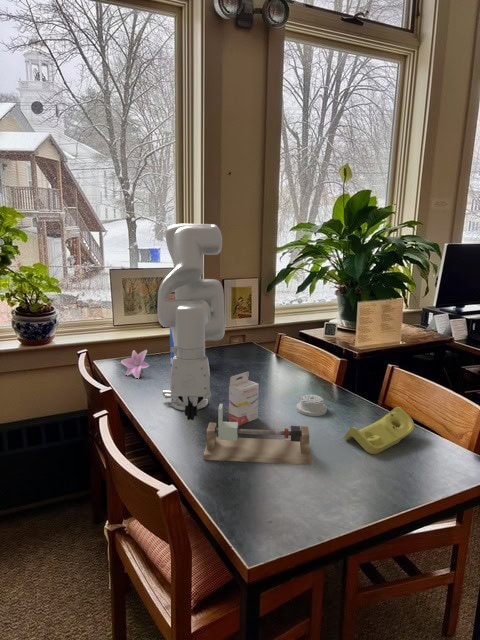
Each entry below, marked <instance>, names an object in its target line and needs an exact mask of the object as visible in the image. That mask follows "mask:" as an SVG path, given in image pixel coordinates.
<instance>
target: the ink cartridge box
mask: <svg viewBox="0 0 480 640" xmlns="http://www.w3.org/2000/svg"><path fill="white" fill-rule="evenodd" d="M249 375H250V372H249V371H245V372H242V373H239V374H235V375H232V376H230V379H229V386H228V422H238V427H240V426H243V425H245V424H246V423H249V422H252V421H254V420H257V419H258V418H259V417H258V416H259V415H258V413H259V412H258V411H259V392H260V391H259V389H260V387H259V386H260V384H259V383H258V382H254V381H252V380H249ZM238 378H239V379H238Z"/></svg>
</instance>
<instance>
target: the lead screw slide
mask: <svg viewBox="0 0 480 640" xmlns="http://www.w3.org/2000/svg"><path fill="white" fill-rule="evenodd" d="M217 434H218V427H217V422H209V423H208V426H207V429H206V445H205V448H204V451H203V460H205V461H228V462H245V463H246V462H250V463H269V464H290V465H291V464H292V465H293V464H294V465H312V456H311V448H310V429H309V426H304V425H301V426H300V425H291V426H290V430H289V428H286V427H285V428H284V429H283V430H275V429H273V430H270V429H269V430H268V429H267V430H266V429H248V428H247V429H245V428H244V429H243V428H238V429H237V434H238V435H241V434H242V435H264V436H265V435H266V436H283V437H284V439H275V438H274V439H273V438H271V439H270V438H249V437H248V438H247V437H237V441H236V440H218V436H217ZM289 437H290V439H289Z"/></svg>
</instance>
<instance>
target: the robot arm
mask: <svg viewBox="0 0 480 640" xmlns="http://www.w3.org/2000/svg"><path fill="white" fill-rule="evenodd" d="M222 235H223V234H222V232H221V230H220V228H219V226H218V225H217V224H214V223H177V224H176V223H175V224H171V225H169V226H168V227H167V228H166V229H165V242H166V247H167V250H168V254H169V256H170V257H171V261H172V264H173V269H172V270H171V271H170V272H169V273H168V274H167V275H166V276H165V278H164V279H163V281H162V282H161V283H160V285H159V288H158V292H157V311H156V312H157V319H158V323H159V325H161V327H164V328H170V327H171V330H172V336H173V342H174V347H171V349H170V348H169V349H170V352H173V353H174V358H173V361H172V365H171V370H170V390H167V389H166V390H165V389H163V390H162V396H163V397H164V399H170V405H171V407H173V408H174V409H175V410H179V411H184V412H185V416H187V418H186V419H187V421H190V420H191V421H194V419H195V417H197V416H198V410H200V409H203V408H205V407H207V406H208V404H209V399H211V398H212V393H211V392H212V391H211V384H212V383H211V371H210V363H209V359H208V356H207V355H206V341H208V342H210V341H221V340H222V339H223V338H224V336H225V332H226V321H225V320H226V316H225V315H226V314H225V296H224V287H223V285H222V282H221V281H219V280H218V279H214V278H204V279H203V278H202V276H203V273H204V258H203V257H204V255H207V256H208V255H209V256H211V255H215V256H216V255H219V254H220V253H221V252H222V249H223V236H222ZM173 292H174V298H175V299H169V296H170V295H171V293H173Z"/></svg>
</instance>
